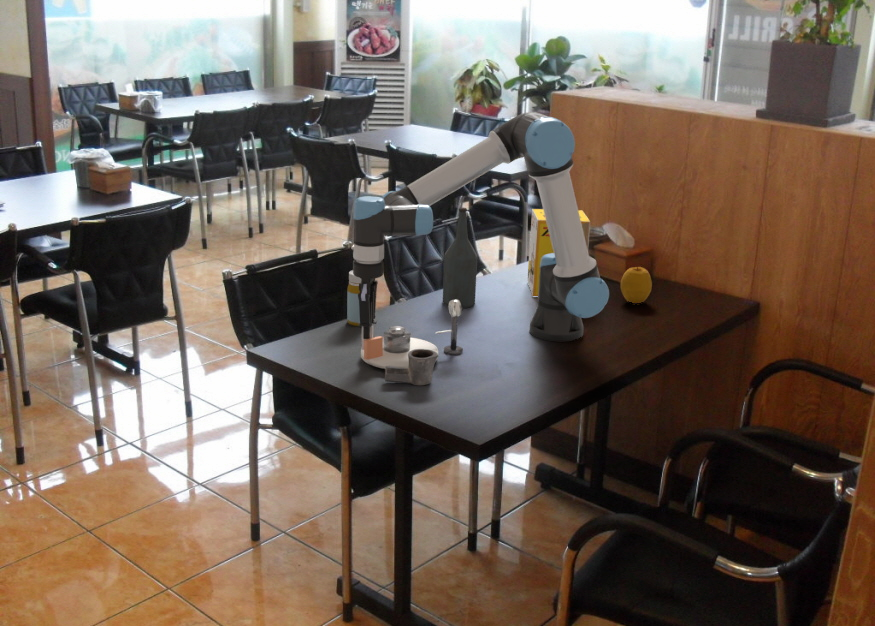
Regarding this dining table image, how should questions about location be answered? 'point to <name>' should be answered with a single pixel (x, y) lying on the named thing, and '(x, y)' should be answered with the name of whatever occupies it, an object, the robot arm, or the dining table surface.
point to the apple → (636, 284)
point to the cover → (396, 340)
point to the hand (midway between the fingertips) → (367, 349)
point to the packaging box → (545, 244)
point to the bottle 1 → (353, 300)
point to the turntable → (381, 358)
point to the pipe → (414, 368)
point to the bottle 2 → (460, 267)
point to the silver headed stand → (453, 328)
